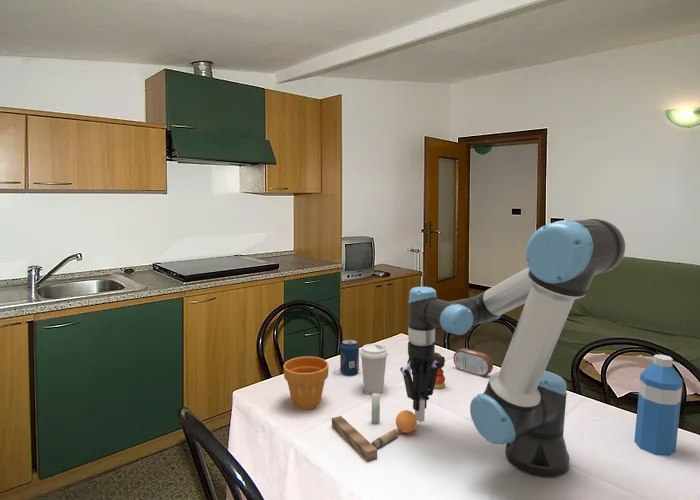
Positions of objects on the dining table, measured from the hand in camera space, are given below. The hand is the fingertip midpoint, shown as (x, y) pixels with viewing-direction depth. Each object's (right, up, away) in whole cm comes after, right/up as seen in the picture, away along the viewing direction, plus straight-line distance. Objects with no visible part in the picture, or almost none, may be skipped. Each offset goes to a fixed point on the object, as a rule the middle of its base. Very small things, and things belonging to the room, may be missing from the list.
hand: (419, 419), depth 137 cm
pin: (-7, -2, -5) cm, 9 cm away
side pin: (-13, -2, +2) cm, 13 cm away
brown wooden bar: (-19, -3, -8) cm, 21 cm away
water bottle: (+62, -4, -10) cm, 63 cm away
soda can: (-20, +3, +39) cm, 44 cm away
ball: (-4, +1, -3) cm, 5 cm away
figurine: (+10, +2, +27) cm, 29 cm away
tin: (+25, +3, +39) cm, 47 cm away
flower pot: (-34, 0, +15) cm, 37 cm away
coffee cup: (-12, +1, +24) cm, 27 cm away
